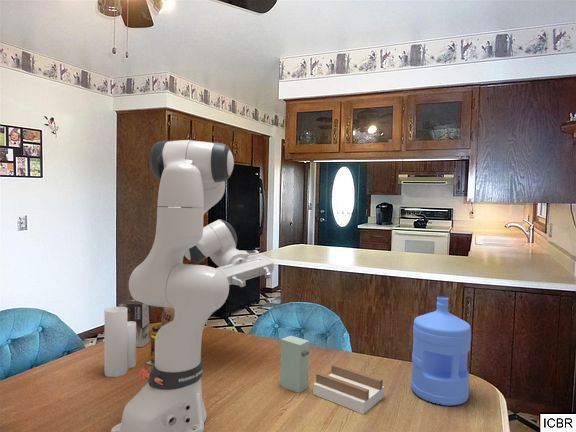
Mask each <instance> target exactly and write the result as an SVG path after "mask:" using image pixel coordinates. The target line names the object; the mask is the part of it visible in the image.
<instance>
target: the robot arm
mask: <svg viewBox="0 0 576 432" xmlns="http://www.w3.org/2000/svg"><path fill="white" fill-rule="evenodd" d="M148 157H149V158H148V159H149V160H148V161H149V167H150V169H149V170H150V171H151V173H152V174H153V175H154V177H155V178H156V179H158V180H159V186H158V196H157V211H156V226H155V227H156V228H155V229H156V231H155V236H154V241H153V244H152V247H151V248H150V251H149V253H148V255H147V256H146V258H145V259H144V260H143V261H142V262H141V263H140V264H138V265H137V266H136V267H134V269H133V271H132V272H131V274H130V276H129V279H128V291H129V293H130V296H131V297H132V299H135V300H137V301H139V302H142V303H144V304H147V305H149V307H158V308H164V307H166V308H173V309H174V310H175V315H174V319H173V321H171V322H169V323H167V324H165V325H164V326H162V327H161V328H160V329H159V330H158V332H157V334H156V336H155V363H154V365H152V367H151V370H147V368H141V370H140V371H139V372H138V377H140V378H142V379H143V380H147V382H146V383H145V384H144V386H142V388H140V390H139V391H138V392H137V393H136V394H135V395H134V396H133V397H132V398H131V399H130V400H129V402H127V403H126V405H125V406H124V408H123V411H122V416H121V422H119V423H118V424H116V425H114V426H113V427H111V431H110V432H204V431H205V427H204V425H205V424H204V423H205V422H206V420H207V417H208V416H207V410H206V408H205V403H204V397H203V388H202V377H203V361H202V357H201V355H202V342H203V341H202V338H203V331H204V328H205V326H206V324H207V322H208V319H210V317H211V315H213V314H214V313H215V312H217V310H219V309H220V308H221V307H222V306H223V305H224V304H225V303H226V300H227V299H228V296H229V292H230V286H231V285H235V286H239V287H240V288H243V287H246V286H247V285H246V283H247V282H246V281H248V280H250V279H253V278H257V277H261V276H263V275H264V279H266V280H268V279H271V278H272V273H273V272H274V268H275V266H274V265H275V263H274V261H273V259H271V258H270V257H269V256H267V255H265V254H263V253H260V252H259V251H258V250H255V249H254V250H253V249H252V250H239V249H238V248H237V245H238V236H237V231H235V229H234V227H233V226H232V224H230V222H227V220H224V219H217V220H215V221H213V222H211V223H209V224H207V225H205V226H204V215H205V214H206V213H207V212H208V211H209V210H210V209H211V208H212V207H214V206H215V205H216V204H218V203H219V201H221V200H222V198H223V196H224V195H225V190H226V181H227V180H228V179H229V178H230V177H231V176H232V173H233V170H234V165H235V160H234V155H233V152H232V149H231V148H230V147H229V146H228V145H227V144H225V143H221V142H219V141H218V142H217V141H216V142H209V141H208V142H207V141H200V140H199V141H198V140H192V139H189V140H188V139H184V140H183V139H181V140H179V139H178V140H161V141H158V142H155V143H154V144H153V146H152V147H151V149H150V151H149V156H148ZM184 257H185V258H186V259H187V261H189V262H192V263H198V264H192V263H190V264H189V263H183V262H184ZM208 257H209V258H210V259H211V260H212V262H213V263H214V264H215V265H216V266H217V267H216V268H215V267H212V266H209V265H205V264H203V265H201V264H199V263H201V262H203V261H204V260H206V259H207V258H208Z"/></svg>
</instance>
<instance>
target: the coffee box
mask: <svg viewBox="0 0 576 432" xmlns="http://www.w3.org/2000/svg"><path fill="white" fill-rule="evenodd" d="M118 307H126V308H127V322H129V321H133V322H136V348H144V347H145V346H146V345H147V344H149V343H151V335H150V329H151V328H150V305H147V304H144V303H142V302H139V301H137V300H135V299H134V298H132V299H129V298H127V299H126V300H123V301H122V302H120V303H119V305H118Z"/></svg>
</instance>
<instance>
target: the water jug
mask: <svg viewBox="0 0 576 432" xmlns="http://www.w3.org/2000/svg"><path fill="white" fill-rule="evenodd" d="M436 299H437V301H436V309H435V310H434V311H431V312H428V313H425V314H422V315H418V316H416V317H415V318H414V319H413V325H412V332H413V333H412V334H413V337H412V338H413V340H412V342H413V343H412V354H411V362H412V363H411V364H412V369H411V370H412V371H411V374H412V375H411V380H410V381H411V382H410V387H411V390H412V392H413V393H414V394H415V395H416V396H417V397H419V398H420V399H422V400H425V401H426V402H428V401H429V403H431V402H432V403H431V404H435V403H436V405H439V404H441V406H459V405H462V404H464V403H466V402H467V401H468V399H469V397H470V396H469V395H470V390H469V389H470V388H469V383H470V381H469V380H470V379H469V378H470V373H469V371H468V353H469V352H470V351H471V341H472V328H471V325H470V324H469V323H468V322H467V321H465V320H463V319H461V318H459V317H458V316H457V315H454V314H452V313H450V311H449V297H446V296H437V297H436Z"/></svg>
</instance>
